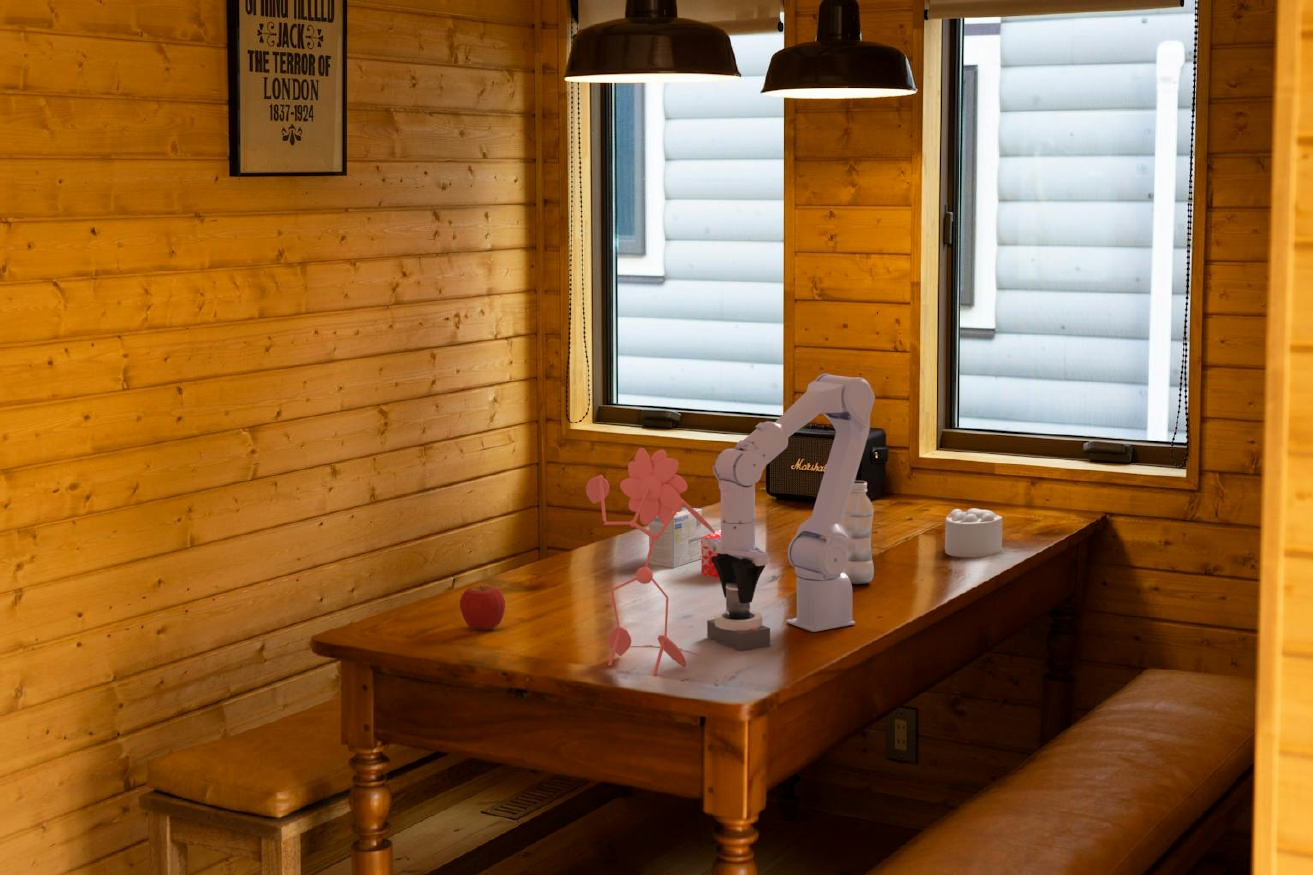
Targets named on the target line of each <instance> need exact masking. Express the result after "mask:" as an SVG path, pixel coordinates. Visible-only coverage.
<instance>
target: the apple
mask: <svg viewBox="0 0 1313 875" xmlns="http://www.w3.org/2000/svg"><path fill="white" fill-rule="evenodd" d="M459 606H460V607H459V608H460V611H461V614H462V618H463V620H464V622H465V624H466V625H467V626H468V627H470V628H471V629H472V630H476V631H487V630H492V629H494V628H496V627H498V625H500V624H501V622H502V620H503V618H504V614H505V612H506V611H505V610H506V599H505V598H504V596H503V593H501V591H500V590H499V589H498V588H497V587H493V586H488V585H485V586H484V585H480V586H474V587H469V588H466V589H465V590H464V591H463V593H462V594H461V596H460V599H459Z"/></svg>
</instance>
